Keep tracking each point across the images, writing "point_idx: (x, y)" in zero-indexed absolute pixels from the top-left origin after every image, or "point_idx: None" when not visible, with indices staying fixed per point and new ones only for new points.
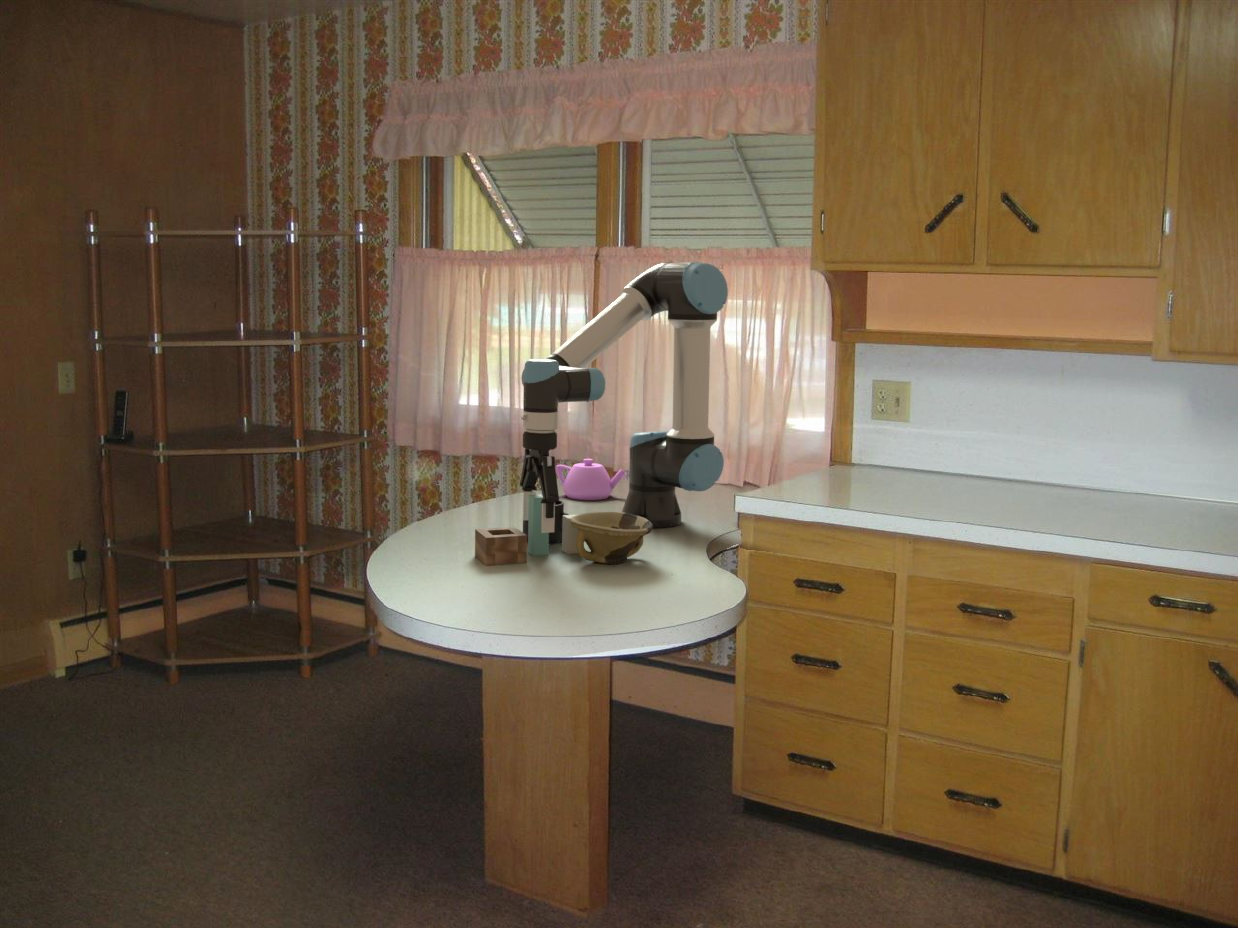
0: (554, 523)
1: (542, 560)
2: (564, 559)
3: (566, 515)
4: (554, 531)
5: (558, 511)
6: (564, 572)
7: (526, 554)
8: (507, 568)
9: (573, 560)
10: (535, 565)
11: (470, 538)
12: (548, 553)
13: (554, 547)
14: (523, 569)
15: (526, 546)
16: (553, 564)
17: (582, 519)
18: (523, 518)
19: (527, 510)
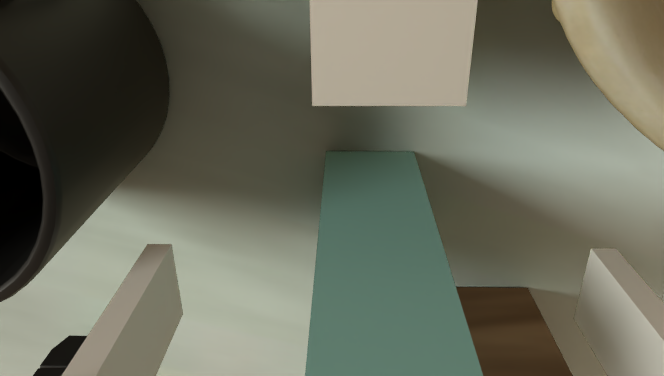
0: (649, 287)
1: (514, 213)
2: (543, 103)
3: (330, 73)
4: (132, 52)
5: (33, 47)
6: None
7: (540, 315)
8: (580, 372)
9: None
10: None
11: (5, 366)
12: (414, 154)
13: (246, 62)
14: None
15: (555, 344)
16: (615, 190)
17: (652, 12)
18: (175, 321)
19: (157, 341)
